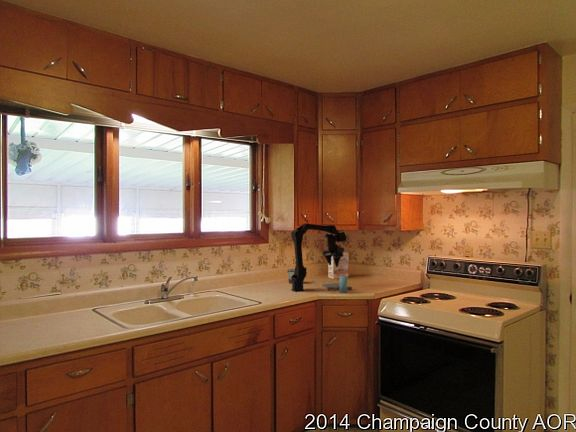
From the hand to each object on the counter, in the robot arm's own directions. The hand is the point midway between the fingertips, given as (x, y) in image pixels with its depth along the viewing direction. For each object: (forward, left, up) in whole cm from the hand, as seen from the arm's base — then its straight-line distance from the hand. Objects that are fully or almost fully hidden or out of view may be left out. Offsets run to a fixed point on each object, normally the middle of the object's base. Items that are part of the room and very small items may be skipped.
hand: (333, 265), depth 271 cm
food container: (-15, +26, -15) cm, 34 cm away
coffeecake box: (+26, +31, -15) cm, 43 cm away
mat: (+2, +2, -15) cm, 15 cm away
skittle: (-4, -17, -15) cm, 23 cm away
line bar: (-2, -10, -15) cm, 18 cm away
